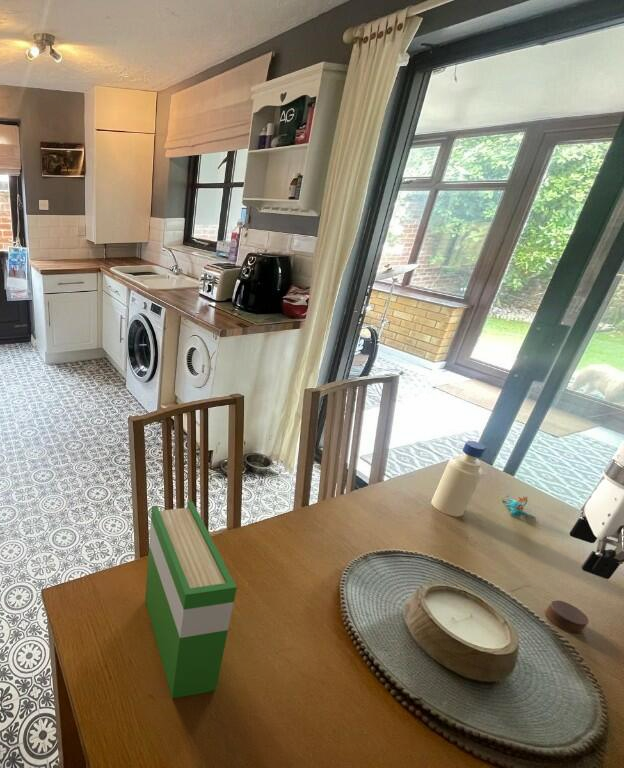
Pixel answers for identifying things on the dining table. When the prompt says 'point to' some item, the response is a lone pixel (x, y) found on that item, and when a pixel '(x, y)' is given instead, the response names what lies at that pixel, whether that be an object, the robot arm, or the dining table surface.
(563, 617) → the chip
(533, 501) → the dining table surface
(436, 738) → the dining table surface
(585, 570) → the robot arm
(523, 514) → the dragon figurine
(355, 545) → the dining table surface
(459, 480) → the bottle
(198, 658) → the hardback book
